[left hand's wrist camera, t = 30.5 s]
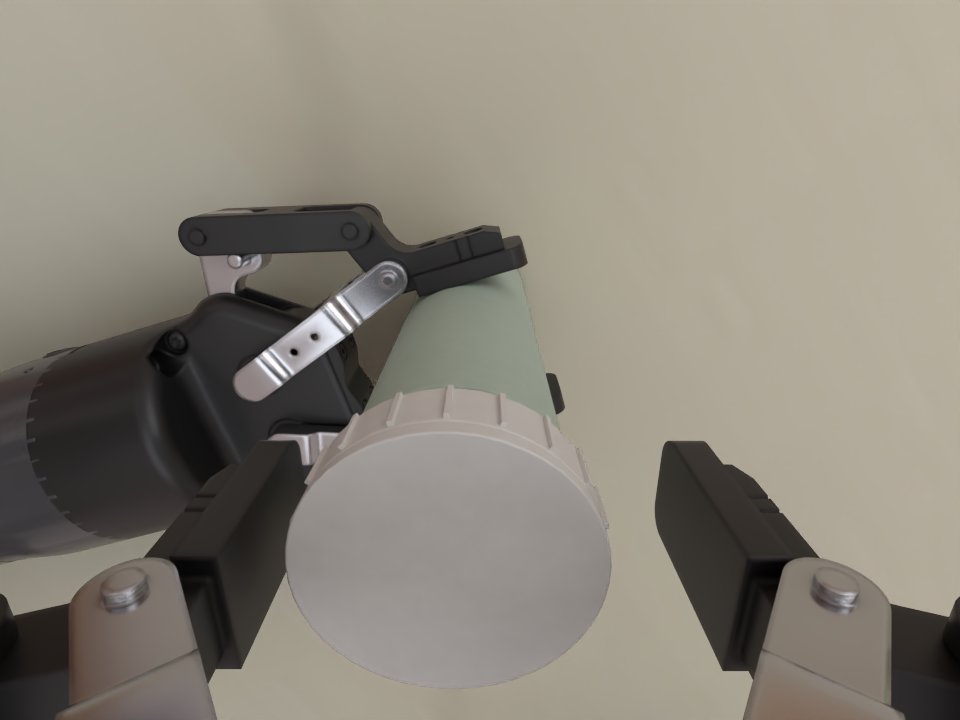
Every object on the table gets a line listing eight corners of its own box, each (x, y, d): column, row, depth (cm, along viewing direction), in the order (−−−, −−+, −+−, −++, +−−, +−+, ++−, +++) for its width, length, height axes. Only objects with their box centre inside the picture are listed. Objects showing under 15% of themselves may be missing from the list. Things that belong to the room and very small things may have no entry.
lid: (257, 433, 10) (217, 485, 8) (552, 342, 9) (565, 381, 8) (376, 645, 12) (359, 718, 10) (627, 583, 11) (648, 652, 10)
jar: (509, 231, 25) (550, 389, 9) (533, 328, 26) (603, 604, 11) (409, 259, 25) (280, 454, 9) (439, 352, 27) (372, 649, 11)
